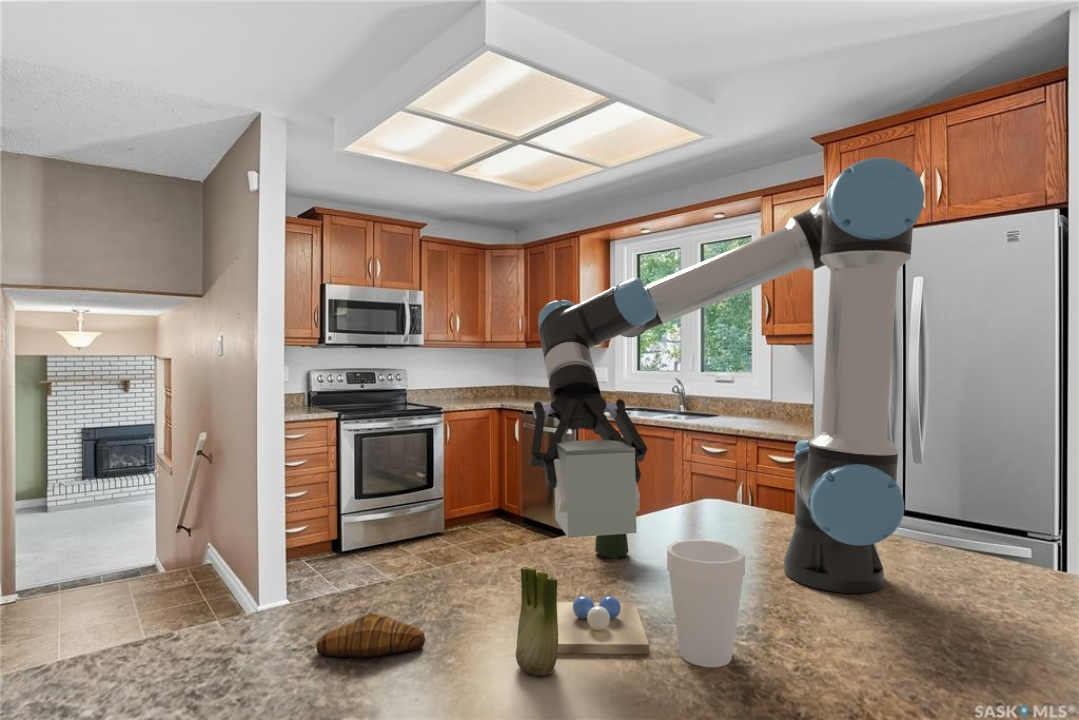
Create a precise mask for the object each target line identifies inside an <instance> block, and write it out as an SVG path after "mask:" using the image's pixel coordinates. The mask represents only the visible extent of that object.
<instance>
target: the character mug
mask: <svg viewBox="0 0 1079 720" xmlns="http://www.w3.org/2000/svg"><path fill="white" fill-rule="evenodd" d="M640 499H641V498H640ZM640 499H639V502H638V505H637V507H636V513H638V512H639V511H640V508H641V507H640ZM595 537H596V538H595V548H594V551H595V552H596V553H597V554H598V555H601V556H604V557H609V558H621V557H624V556H626V555H627V554H628V553H629V544H628V536H627V534H614V535H599V536H595Z"/></svg>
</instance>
